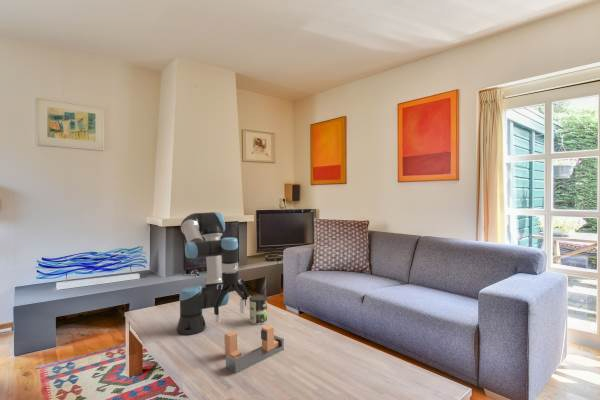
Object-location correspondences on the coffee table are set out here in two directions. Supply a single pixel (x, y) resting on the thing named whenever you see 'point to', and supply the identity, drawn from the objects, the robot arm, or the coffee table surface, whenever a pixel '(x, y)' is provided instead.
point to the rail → (252, 357)
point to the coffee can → (258, 309)
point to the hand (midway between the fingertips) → (230, 317)
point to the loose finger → (231, 345)
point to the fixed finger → (268, 338)
